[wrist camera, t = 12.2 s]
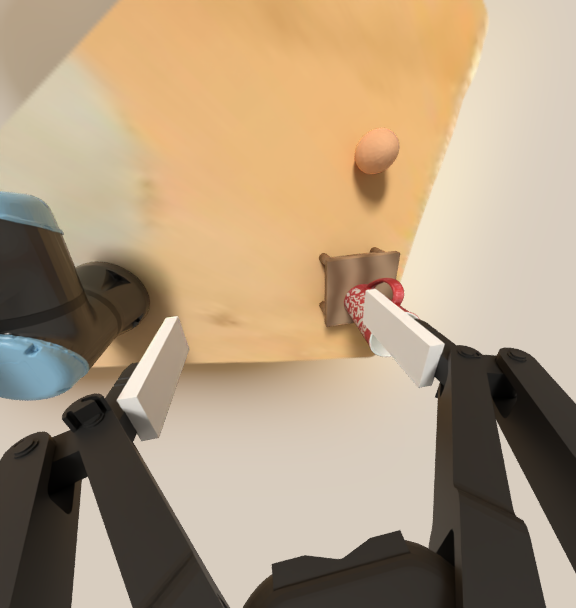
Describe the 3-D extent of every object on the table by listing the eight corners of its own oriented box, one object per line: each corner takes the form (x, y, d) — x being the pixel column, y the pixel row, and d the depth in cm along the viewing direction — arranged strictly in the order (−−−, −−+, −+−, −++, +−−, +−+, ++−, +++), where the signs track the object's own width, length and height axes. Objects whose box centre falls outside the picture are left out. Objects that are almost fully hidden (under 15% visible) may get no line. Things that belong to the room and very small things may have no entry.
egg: (385, 137, 43) (417, 126, 35) (375, 177, 46) (402, 175, 38) (352, 130, 41) (378, 117, 33) (344, 172, 44) (365, 169, 36)
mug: (374, 317, 52) (412, 356, 40) (336, 318, 51) (364, 359, 39) (389, 263, 46) (438, 290, 35) (346, 262, 45) (383, 290, 33)
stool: (317, 310, 58) (326, 326, 51) (316, 251, 51) (327, 261, 44) (373, 302, 59) (389, 317, 53) (380, 244, 52) (400, 252, 46)
